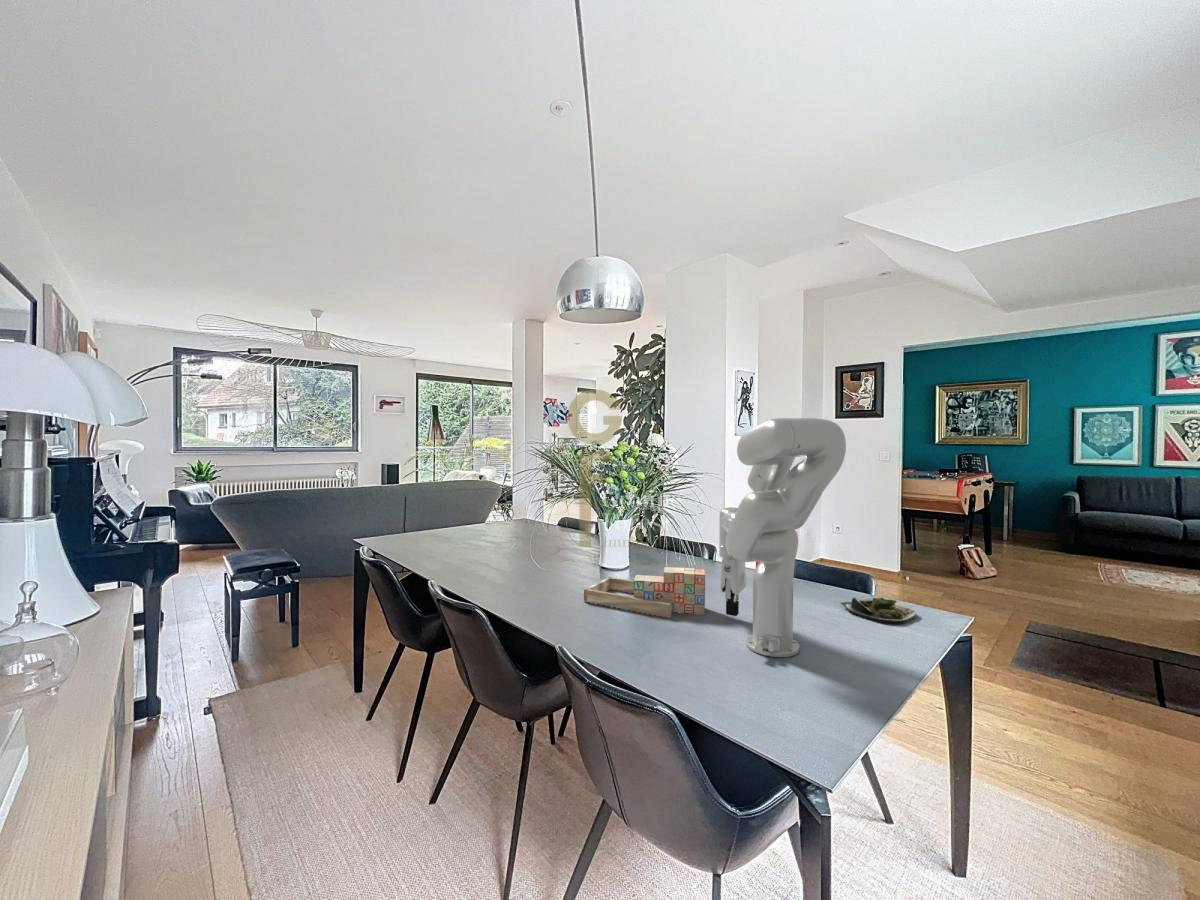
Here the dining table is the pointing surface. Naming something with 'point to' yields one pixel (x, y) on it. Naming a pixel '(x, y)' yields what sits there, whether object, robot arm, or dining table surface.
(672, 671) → the dining table surface
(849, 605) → the salad plate
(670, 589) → the stack of blocks
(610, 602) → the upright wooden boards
